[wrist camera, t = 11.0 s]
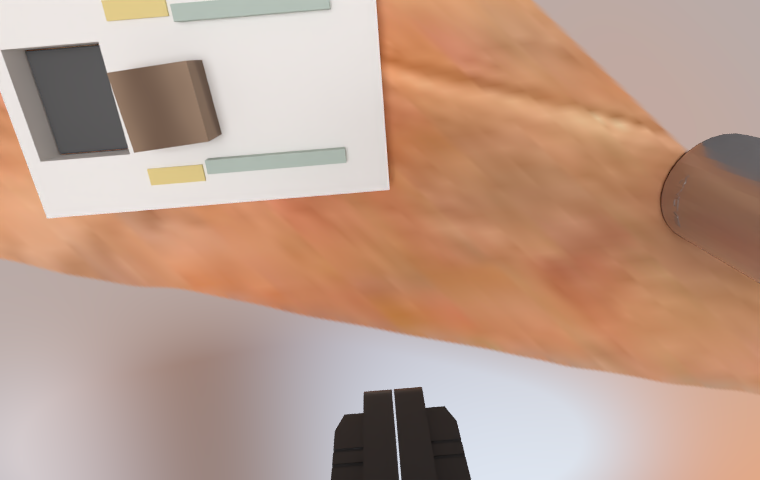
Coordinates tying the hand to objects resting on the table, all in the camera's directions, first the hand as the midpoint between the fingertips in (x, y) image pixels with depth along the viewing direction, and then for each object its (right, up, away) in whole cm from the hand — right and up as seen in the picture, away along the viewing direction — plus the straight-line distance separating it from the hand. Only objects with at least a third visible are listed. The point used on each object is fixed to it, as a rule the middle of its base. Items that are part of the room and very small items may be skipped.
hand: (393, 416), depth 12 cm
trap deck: (-13, +16, +22) cm, 30 cm away
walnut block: (-15, +14, +20) cm, 29 cm away
